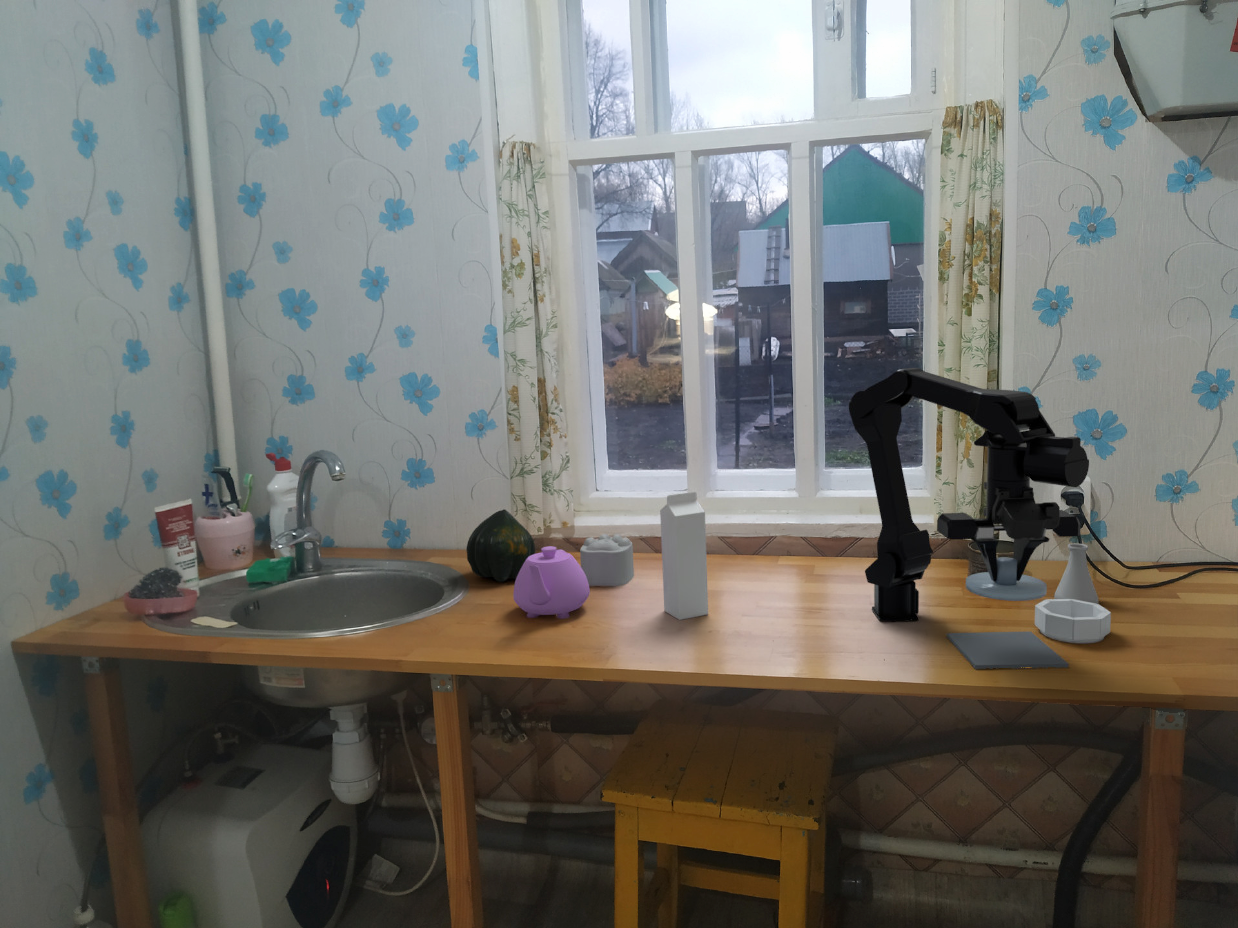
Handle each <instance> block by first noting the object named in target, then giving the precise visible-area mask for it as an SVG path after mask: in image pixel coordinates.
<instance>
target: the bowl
mask: <svg viewBox="0 0 1238 928" xmlns="http://www.w3.org/2000/svg"><path fill="white" fill-rule="evenodd" d="M1111 614H1112V612H1111V611H1109V610H1108V609H1107V608H1106V607H1103V606H1102V605H1100V604H1099V603H1098V604H1095V603H1090V602H1085V601H1080V600H1075V599H1054V598H1050V599H1047V598H1046V599H1043V600H1042V601H1040V602H1039V603H1037V604H1035V605H1034V626H1036V628H1038V629H1039V631H1040V633H1041V634H1042V635H1043V636H1045V637H1047V638H1049V639H1052V640H1056V641H1059V642H1064V643H1069V644H1084V645H1085V644H1094V643H1095V644H1096V643H1099V642H1102V641H1103V640H1104V639H1105V636H1107V635H1108V634H1110V633H1111V619H1112V615H1111Z"/></svg>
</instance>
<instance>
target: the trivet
mask: <svg viewBox="0 0 1238 928" xmlns="http://www.w3.org/2000/svg"><path fill="white" fill-rule="evenodd" d="M946 638H947V639H948V640H949V641H950V643H952V645H953V646H954V647H955V648H956V649H957V650H958V651H959V653H960V654H961V655H962V654H963V655H962V656H963V657H964V659H966V660H967V662H968V661H969V662H970V663H971V664H970V663H969V662H968V663H969V664H970V665H971V666H972V665H973V666H972V667H973V668H974V670H987V669H986V668H989V669H988V670H994V669H993V668H996V669H995V670H1000V669H999V668H1012V669H1026V668H1025V667H1032V668H1031V669H1040V668H1039V667H1042V668H1041V669H1049V668H1048V667H1053V668H1052V669H1059V668H1062V669H1063V667H1064V669H1066V668H1069V665H1070V663H1068V662H1067V661H1066V660H1065V659H1064V658H1063V657H1061V656H1060V655H1059V654H1058V653H1057V652H1056V651H1055V650H1054V649H1052V648H1051V647H1049V645H1047V644H1046V643H1045V642H1044V641H1042V640H1041V639H1040V638H1039V637H1038V636H1037V635H1036V634H1035V633H1033V632H1032V631H1031V630H1030V631H1028V630H1027V631H993V632H992V631H991V632H989V631H988V632H987V631H986V632H984V631H982V632H946ZM1021 667H1022V668H1021ZM1023 667H1024V668H1023ZM1044 667H1045V668H1044ZM1054 667H1055V668H1054ZM980 668H981V669H980ZM997 668H998V669H997Z"/></svg>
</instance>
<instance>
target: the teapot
mask: <svg viewBox="0 0 1238 928" xmlns="http://www.w3.org/2000/svg"><path fill="white" fill-rule="evenodd" d="M540 549H541V552H538V553H535V554H533V555H531V556H529V557H528V558H527V559H526V561H525V562H524V564H523V566H522V568H521V569H520V571H519V573H518V576H517V578H515V582H514V586H513V594H512V595H513V597H512V598H513V601H514V602H515V604H516V605H517V606H518V607H519V608H520V609H522V611H523V612H525V613H527V614H526V618H530V619H532V618H537V617H539V616H540V615H541V616H548V615H549V616H550V615H551V616H553V615H555V616H556V618H557V619H561V620H562V619H568V618H570V616H571V615H570V614H569V613H570V612H573V611H576V610H578V609H580V607H582V606H583V605H584V604H585V602H586V601H587V599H588V598H589V597H590V594H591V593H590V592H591V591H590V586H589V584H588V580H587V577H586V575H585V573H584V571H583V570H582V568H581V564H580V563H579V562H578V561H577V560H576V559H575V557H574V556H573V555H572V554H571V553H569V552H566V551H565V550H564V549H558V548H557V547H556V546H551V545H549V546H544V547H541V548H540Z"/></svg>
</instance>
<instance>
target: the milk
mask: <svg viewBox="0 0 1238 928" xmlns="http://www.w3.org/2000/svg"><path fill="white" fill-rule="evenodd" d="M697 498H698V497H697V491H691V492H683V493H677V494H668V495H667V496H666V504H665V505H664V506H663V507H661V509H660V510H659V512H660V513H659V514H660V534H661V535H660V539H661V560H662V582H663V583H662V585H663V588H662V589H663V609H664V612H666V613H667V614H669V615H671V616H672V617H674V618H675V619H677V620H678V621H682V620H687V619H690V618H691V619H693V618H696V617H697V618H698V617H701V616H706V615H709V599H708V598H709V596H708V594H709V593H708V591H709V590H708V566H707V565H708V564H707V560H708V559H707V535H706V534H707V533H706V511H705V510H704V508H703V506H701V504H700V502H699V501H698V499H697Z"/></svg>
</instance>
